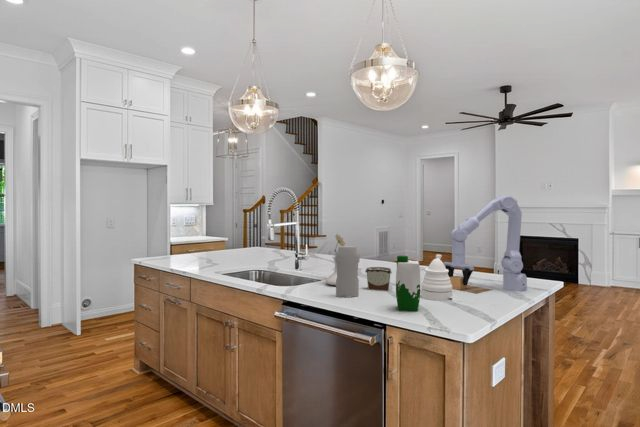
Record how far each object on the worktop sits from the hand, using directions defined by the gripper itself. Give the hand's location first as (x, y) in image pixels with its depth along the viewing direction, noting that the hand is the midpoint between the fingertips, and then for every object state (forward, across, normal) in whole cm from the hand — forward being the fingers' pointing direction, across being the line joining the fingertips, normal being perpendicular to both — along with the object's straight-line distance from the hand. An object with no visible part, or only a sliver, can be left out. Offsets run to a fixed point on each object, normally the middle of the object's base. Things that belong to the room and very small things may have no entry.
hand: (458, 283), depth 186 cm
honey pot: (+3, +2, -19) cm, 19 cm away
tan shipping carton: (+2, 0, 0) cm, 2 cm away
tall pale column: (+3, -22, -49) cm, 54 cm away
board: (+3, +4, +2) cm, 6 cm away
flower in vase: (+3, -44, -36) cm, 57 cm away
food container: (+3, -24, -27) cm, 36 cm away
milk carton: (+3, +7, -44) cm, 45 cm away
